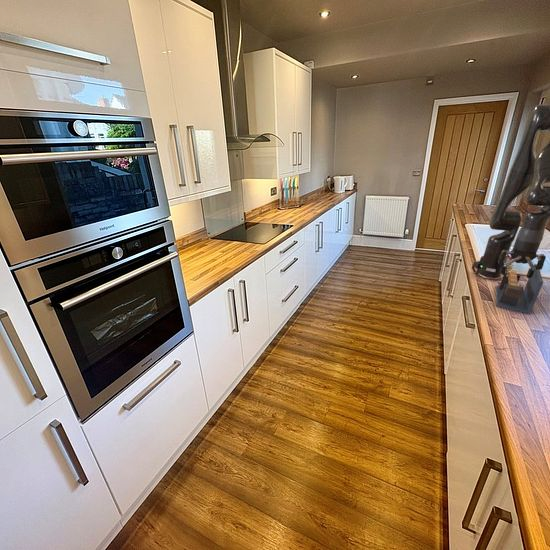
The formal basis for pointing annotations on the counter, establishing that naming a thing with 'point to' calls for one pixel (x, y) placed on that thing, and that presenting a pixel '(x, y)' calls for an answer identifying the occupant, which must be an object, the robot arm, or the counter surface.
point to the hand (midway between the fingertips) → (514, 275)
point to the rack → (527, 297)
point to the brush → (513, 286)
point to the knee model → (509, 264)
